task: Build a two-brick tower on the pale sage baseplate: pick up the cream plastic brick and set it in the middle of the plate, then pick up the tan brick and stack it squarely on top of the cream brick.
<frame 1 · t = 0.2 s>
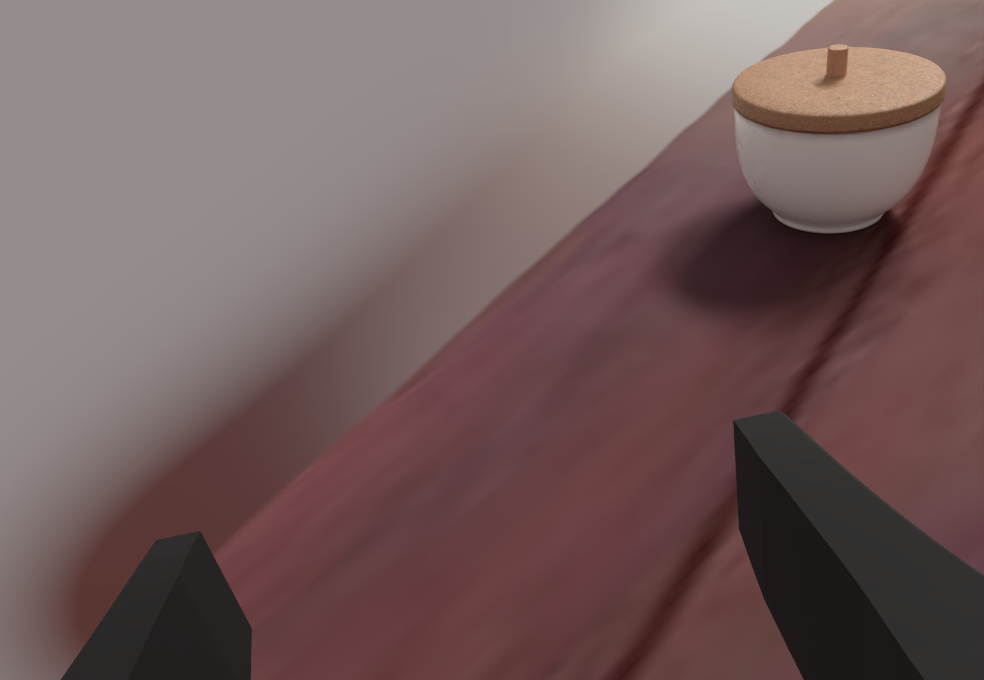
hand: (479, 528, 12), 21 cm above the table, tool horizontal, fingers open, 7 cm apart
lidded bowl: (827, 212, 63), on the table
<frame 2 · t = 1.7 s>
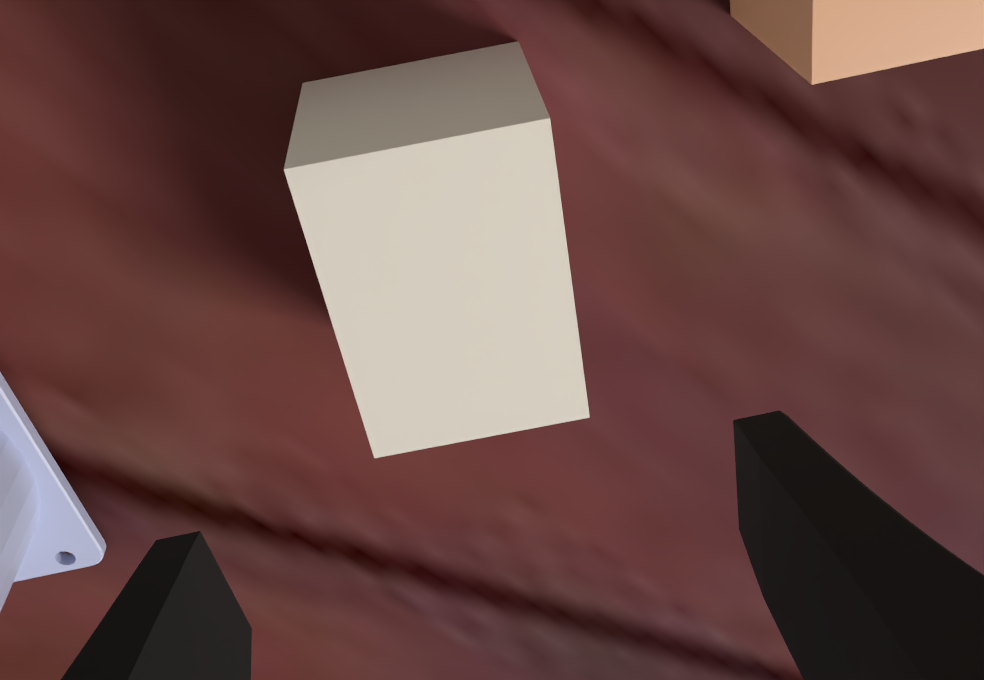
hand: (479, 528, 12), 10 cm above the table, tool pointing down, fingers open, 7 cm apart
cream brick: (440, 201, 21), on the table
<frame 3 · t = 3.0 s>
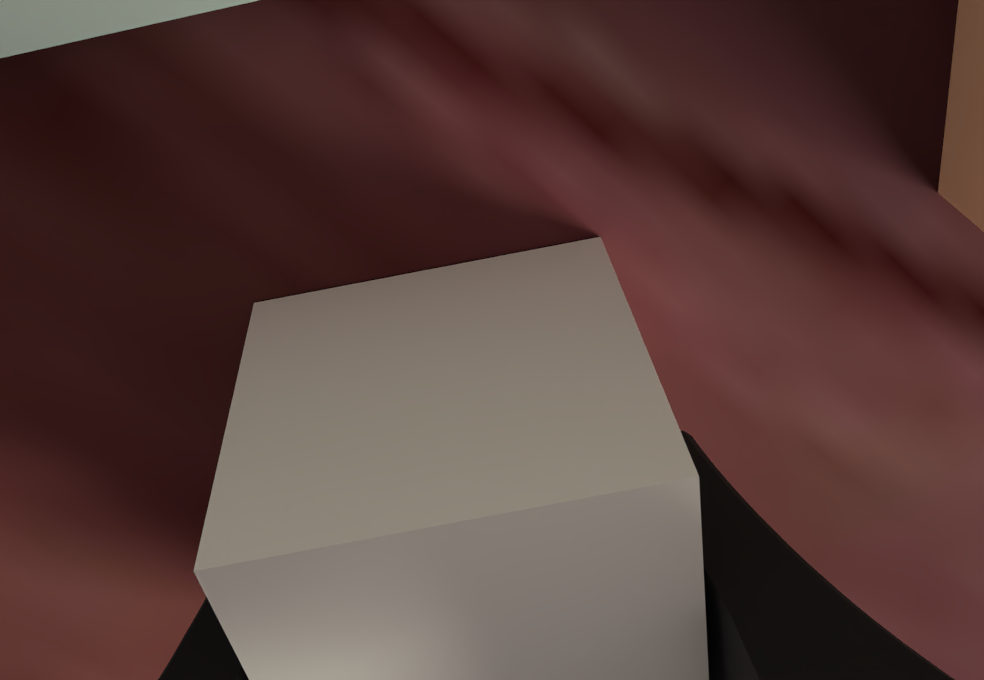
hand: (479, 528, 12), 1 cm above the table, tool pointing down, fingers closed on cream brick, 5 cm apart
cream brick: (471, 458, 14), on the table, touching gripper
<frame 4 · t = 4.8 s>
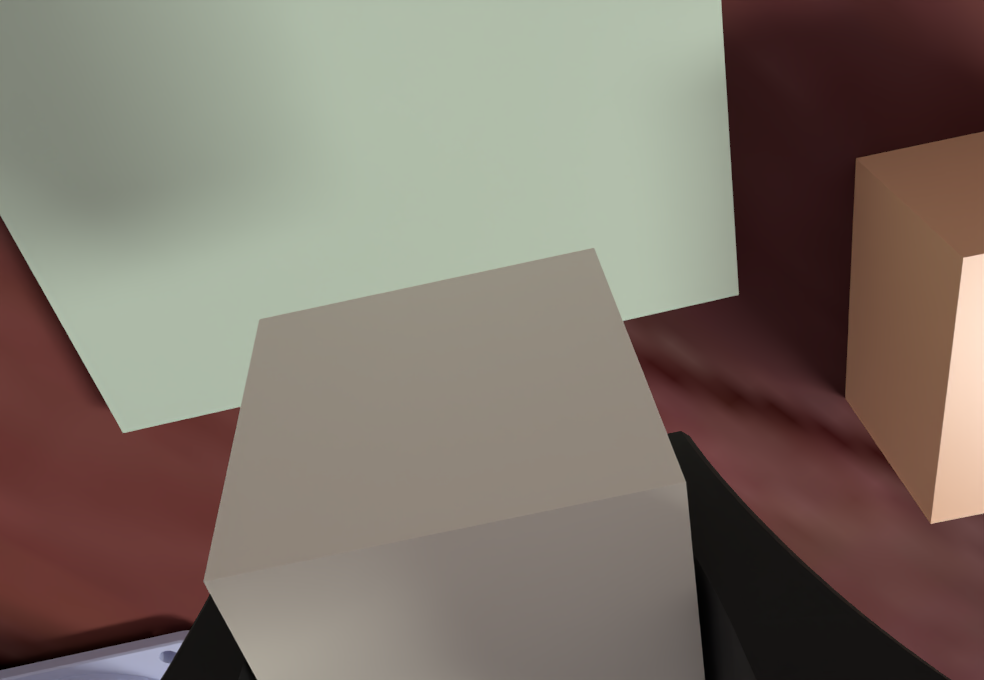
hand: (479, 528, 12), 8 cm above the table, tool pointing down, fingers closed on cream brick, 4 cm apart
cream brick: (474, 464, 14), point 7 cm above the table, touching gripper
baseplate: (335, 46, 17), on the table
tan brick: (944, 265, 21), on the table
when the fingers open (3 cm above the table, at t = 6.6 s): cream brick stays where it is, resting on baseplate.
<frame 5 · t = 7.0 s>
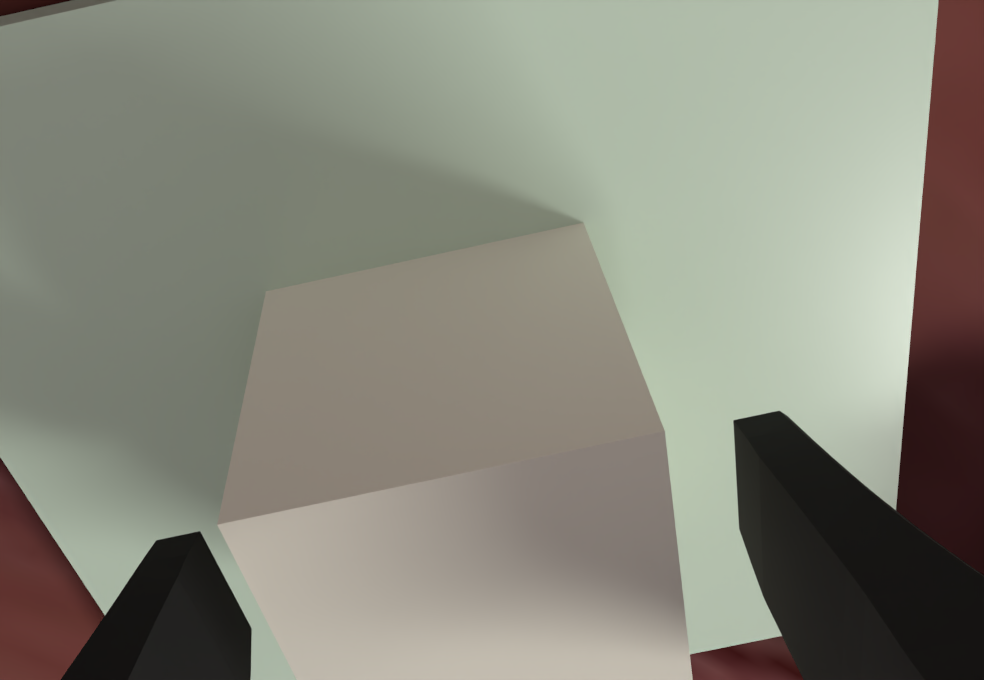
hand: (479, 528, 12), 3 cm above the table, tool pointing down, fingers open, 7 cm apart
cream brick: (471, 433, 15), point 1 cm above the table, touching baseplate
baseplate: (464, 394, 15), on the table
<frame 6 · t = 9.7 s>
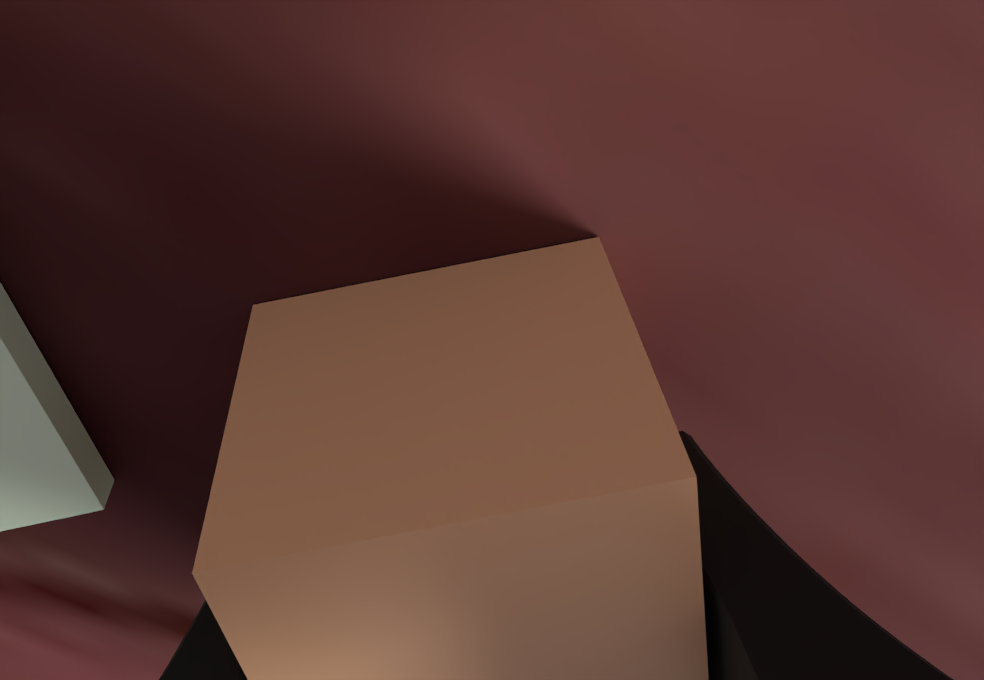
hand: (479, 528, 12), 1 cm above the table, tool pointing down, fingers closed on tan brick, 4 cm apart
tan brick: (471, 458, 14), on the table, touching gripper
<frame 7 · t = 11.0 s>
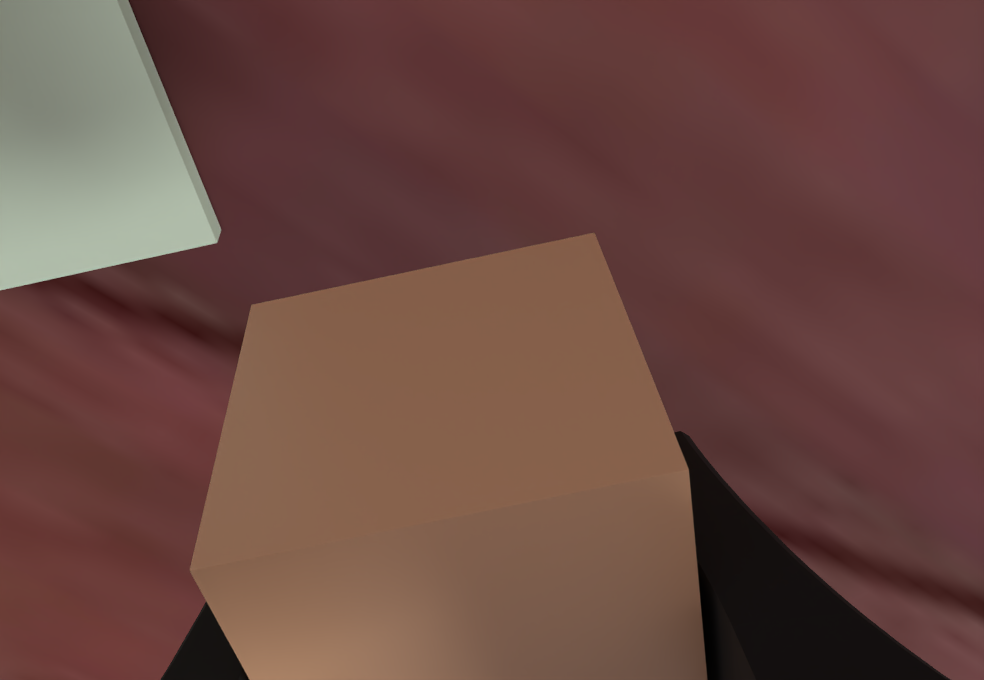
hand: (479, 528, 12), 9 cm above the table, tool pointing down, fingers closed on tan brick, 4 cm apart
tan brick: (471, 455, 14), point 8 cm above the table, touching gripper
when the fingers open (7 cm above the table, at t = 12.7 s): tan brick stays where it is, resting on cream brick.
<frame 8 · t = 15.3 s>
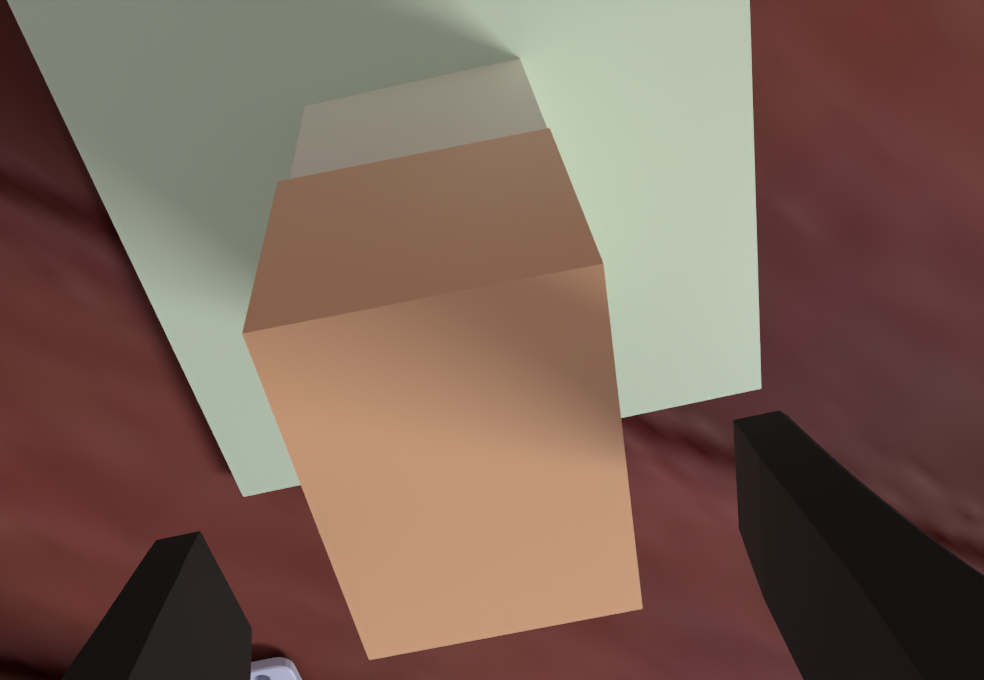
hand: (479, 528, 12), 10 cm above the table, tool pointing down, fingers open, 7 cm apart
cream brick: (446, 221, 21), point 1 cm above the table, touching baseplate, tan brick
baseplate: (441, 197, 21), on the table
tan brick: (451, 319, 17), point 5 cm above the table, touching cream brick
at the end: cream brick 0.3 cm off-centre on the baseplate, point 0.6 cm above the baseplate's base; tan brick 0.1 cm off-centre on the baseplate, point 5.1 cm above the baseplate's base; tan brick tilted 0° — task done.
